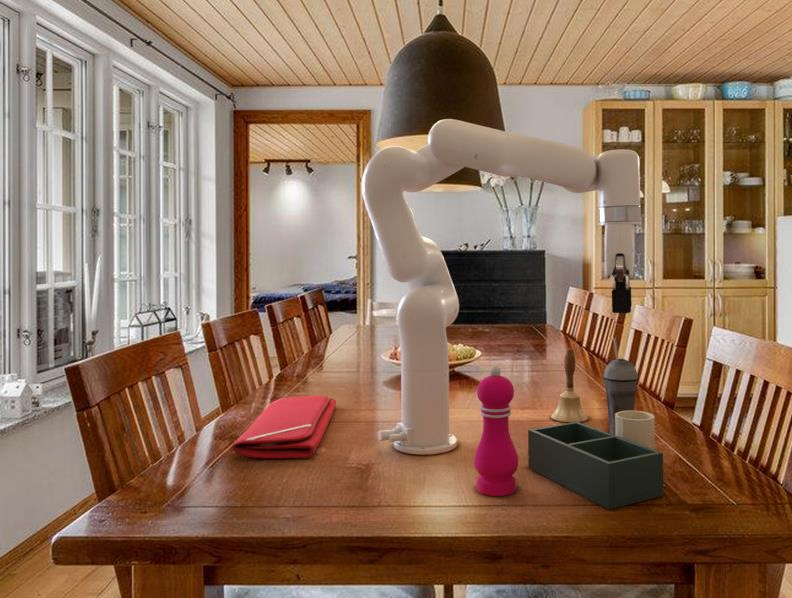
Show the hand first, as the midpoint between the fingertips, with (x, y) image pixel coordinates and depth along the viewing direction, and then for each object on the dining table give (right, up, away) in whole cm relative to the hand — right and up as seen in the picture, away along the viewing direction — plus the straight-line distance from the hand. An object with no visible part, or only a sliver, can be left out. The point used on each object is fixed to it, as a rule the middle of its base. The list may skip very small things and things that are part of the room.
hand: (622, 310), depth 121 cm
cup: (+2, -28, -3) cm, 28 cm away
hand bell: (-5, -28, +30) cm, 41 cm away
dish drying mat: (-66, -29, +22) cm, 76 cm away
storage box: (-8, -28, -11) cm, 31 cm away
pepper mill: (-24, -28, -14) cm, 39 cm away
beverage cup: (+4, -28, +18) cm, 33 cm away
